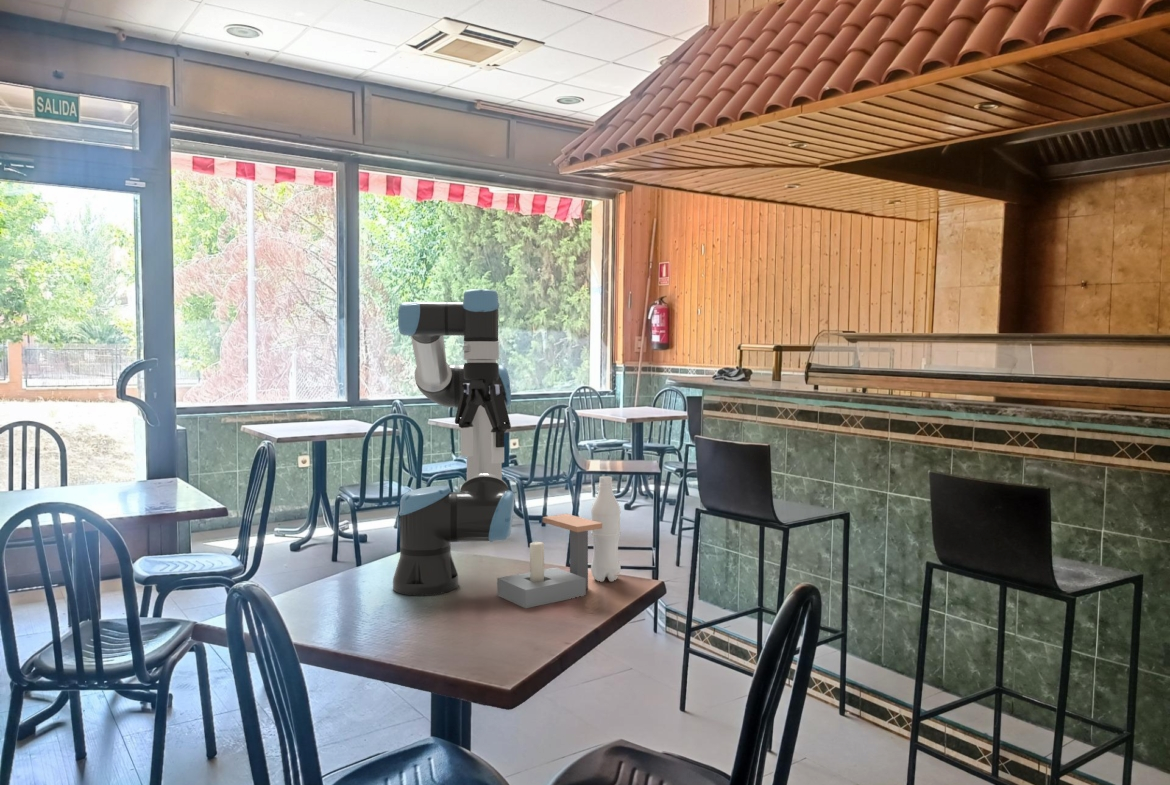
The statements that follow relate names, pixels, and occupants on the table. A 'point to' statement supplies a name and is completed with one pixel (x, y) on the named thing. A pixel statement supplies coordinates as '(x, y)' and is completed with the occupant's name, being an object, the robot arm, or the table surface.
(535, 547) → the peg
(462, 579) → the table surface
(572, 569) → the wooden topped pedestal
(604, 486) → the water bottle
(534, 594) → the socket block
